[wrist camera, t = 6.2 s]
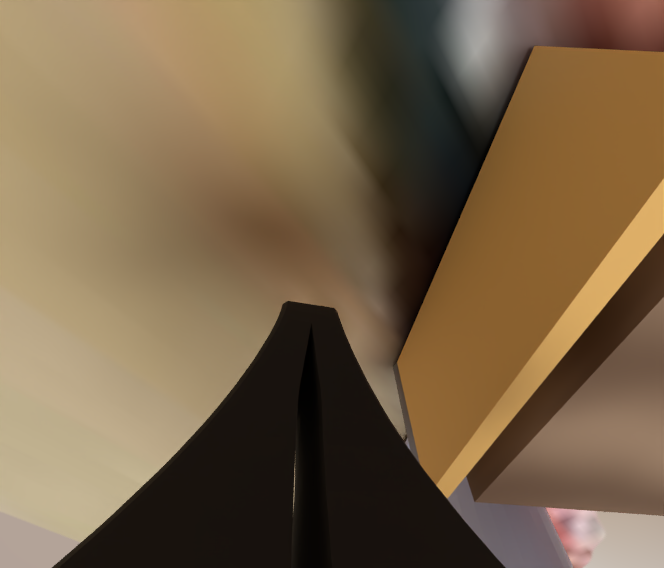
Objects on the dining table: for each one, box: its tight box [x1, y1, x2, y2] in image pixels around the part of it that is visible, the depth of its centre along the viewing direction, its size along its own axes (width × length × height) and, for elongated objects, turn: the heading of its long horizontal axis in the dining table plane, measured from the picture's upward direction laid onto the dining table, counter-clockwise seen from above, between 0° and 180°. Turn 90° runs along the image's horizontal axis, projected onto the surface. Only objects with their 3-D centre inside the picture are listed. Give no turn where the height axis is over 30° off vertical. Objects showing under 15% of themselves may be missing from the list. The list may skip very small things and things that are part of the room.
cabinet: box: [466, 234, 664, 516], centre depth 13 cm, size 14×10×7 cm
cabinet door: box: [393, 46, 664, 499], centre depth 12 cm, size 15×1×7 cm, turn 169°
